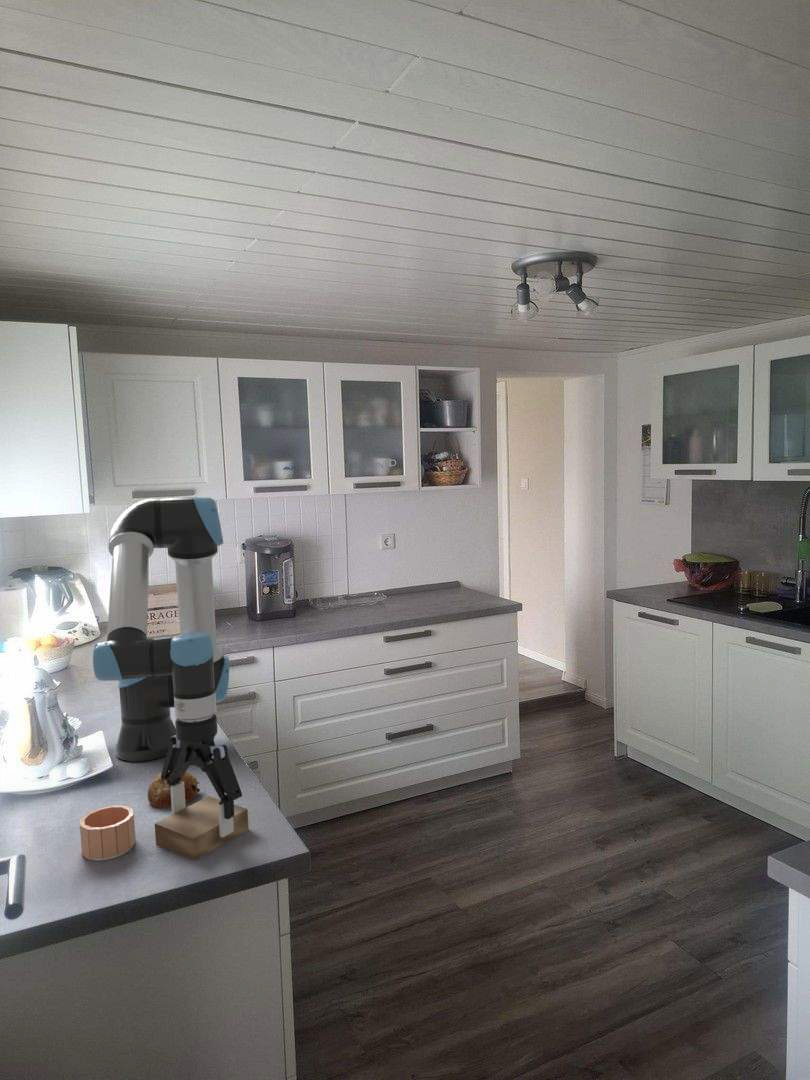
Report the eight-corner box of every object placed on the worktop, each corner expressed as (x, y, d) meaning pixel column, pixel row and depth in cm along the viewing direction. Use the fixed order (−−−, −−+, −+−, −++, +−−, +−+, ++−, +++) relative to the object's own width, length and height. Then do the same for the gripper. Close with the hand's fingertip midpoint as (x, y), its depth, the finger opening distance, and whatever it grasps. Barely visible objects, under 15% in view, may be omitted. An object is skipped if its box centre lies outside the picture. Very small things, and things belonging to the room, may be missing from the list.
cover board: (210, 817, 145) (208, 796, 144) (248, 831, 138) (247, 808, 138) (156, 846, 134) (154, 823, 133) (195, 862, 128) (193, 838, 127)
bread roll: (169, 803, 159) (151, 772, 158) (209, 783, 158) (191, 752, 158) (151, 825, 149) (133, 792, 148) (194, 804, 148) (176, 771, 148)
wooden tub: (116, 830, 139) (114, 801, 139) (145, 843, 134) (143, 812, 134) (71, 852, 132) (69, 821, 131) (101, 866, 127) (98, 834, 126)
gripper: (137, 711, 138) (144, 817, 140) (225, 733, 124) (232, 850, 125) (170, 701, 144) (176, 802, 146) (257, 720, 130) (263, 832, 132)
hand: (202, 825), depth 136 cm, fingers open, 13 cm apart
